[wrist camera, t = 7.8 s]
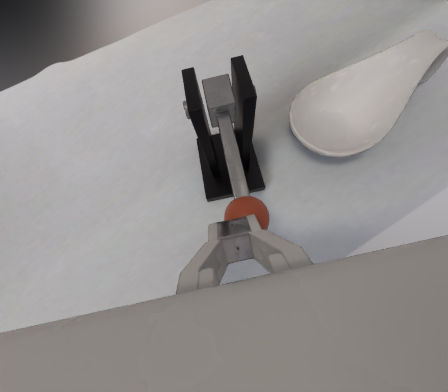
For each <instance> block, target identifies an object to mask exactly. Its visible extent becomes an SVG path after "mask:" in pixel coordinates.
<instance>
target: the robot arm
mask: <svg viewBox="0 0 448 392" xmlns="http://www.w3.org/2000/svg"><path fill="white" fill-rule="evenodd" d="M253 258H254V259H255V260H256V261H257V262H258V263H260V264H261V265H262V266H263V267H264V268H265V269H266V270H268V271H269V272H270V274H268V275H263V276H259V277H254V278H249V279H245V280H240V281H236V282H231V283H227V284H222V285H219V284H220V282H221V279H222V277H223V275H224V273H225V271H226V268H227V266H228V264H230V263H234V262H238V261H242V260H247V259H253ZM0 392H448V235H446V236H441V237H437V238H432V239H428V240H423V241H418V242H414V243H410V244H405V245H400V246H396V247H391V248H386V249H382V250H377V251H373V252H369V253H364V254H359V255H355V256H350V257H346V258H341V259H337V260H332V261H328V262H323V263H318V264H313V262H312V261H311V260H310V258H309V257H308V255H307V254H306V253H305V251H304V250H303V249H302V247H300V246H298V245H296V244H294V243H292V242H290V241H288V240H286V239H284V238H282V237H280V236H277V235H275V234H273V233H271V232H269V231H267V230H265V229H263V230H262V229H261V227H260V225H259V223H258V221H257V218H256V216H255V215H254V214H252V215H248V216H245V217H241V218H237V219H232V220H227V221H222V222H217V223H213V224H209V226H208V242H206V243H205V244H204V245H203V246H202V248H201V249H200V250H199V251H198V252H197V254H196V255H195V256H194V257H193V258H192V260H191V261H190V262H189V263H188V264H187V266H186V267H185V268H184V269H183V271H182V272H181V273H180V276H179V281H178V285H177V290H176V295H172V296H168V297H163V298H158V299H154V300H149V301H145V302H140V303H136V304H131V305H126V306H122V307H117V308H113V309H108V310H104V311H99V312H94V313H90V314H85V315H81V316H76V317H71V318H67V319H62V320H58V321H53V322H49V323H44V324H39V325H35V326H30V327H26V328H21V329H16V330H12V331H7V332H3V333H0Z"/></svg>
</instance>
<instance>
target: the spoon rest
mask: <svg viewBox="0 0 448 392" xmlns="http://www.w3.org/2000/svg"><path fill="white" fill-rule="evenodd" d="M447 56H448V40H444V39H441V38H439V37H438V36H437V35H436V34H435V32H434V31H433V30H425V31H422V32H420V33H418V34H416V35H414V36H411V37H410V38H408V39H406V40H404V41H402V42H400V43H398V44H396V45H394V46H392V47H390V48H388V49H386V50H384V51H382V52H380V53H378V54H375V55H373V56H371V57H369V58H366V59H364V60H362V61H359V62H357V63H354V64H352V65H350V66H347V67H345V68H342V69H340V70H338V71H335V72H333V73H331V74H329V75H327V76H324V77H323V78H320V79H318V80H316V81H314V82H313V83H311V84H309V85H308V86H306V87H305V88H304V89H302V90H301V91H300V92H299V93H298V94H297V96H296V97H295V98H294V100H293V102H292V104H291V106H290V110H289V124H290V127H291V130H292V132H293V133H294V135H295V136H296V138H297V139H298V140H299V141H300V142H301V143H302V144H303V145H304V146H305V147H306V148H308V149H310V150H311V151H313V152H315V153H318V154H321V155H324V156H330V157H345V156H351V155H355V154H358V153H361V152H363V151H366V150H368V149H369V148H371V147H373V146H374V145H376V144H377V143H378V142H379V141H380V140H382V139H383V138H384V136H385V135H386V134H387V133H388V132H389V131H390V130H391V128H392V127H393V126H394V124H395V122H396V121H397V119H398V118H399V116H400V114H401V113H402V111H403V109H404V108H405V106H406V104H407V102H408V101H409V99H410V97H411V95H412V94H413V92H414V90H415V88H416V87H417V85H418V84H419V83H423V82H425V81H427V80H428V79H429V78H430V77H431V76H432V75H433V74H434V73H435V72H436V70H437V69H438V68H439V67H440V66H441V64H442V63H443V62H444V61H445V59H446V58H447Z"/></svg>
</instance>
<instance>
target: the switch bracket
mask: <svg viewBox="0 0 448 392" xmlns="http://www.w3.org/2000/svg"><path fill="white" fill-rule="evenodd" d="M231 74H232V90H233V94H234V98H235V102H236V122H235V123H234V133H235V137H236V141H237V145H238V150H239V154H240V158H241V162H242V166H243V170H244V174H245V178H246V183H247V187H248V191H249V193H251V192H256V191H261V190H264V188H265V185H264V182H263V178H262V175H261V171H260V168H259V165H258V161H257V158H256V154H255V151H254V148H253V144H252V137H253V128H254V118H255V109H256V100H257V95H256V89H255V86H254V85H253V83H252V80H251V77H250V74H249V72H248V69H247V66H246V63H245V60H244V57H243V55H242V56H237V57H233V58H231ZM182 76H183V83H184V89H185V96H186V101H183V106H184V110H185V113H186V116H187V118H188V119H191V121H192V124H193V126H194V129H195V131H196V134H197V137H198V138H197V145H198V151H199V157H200V164H201V170H202V176H203V182H204V188H205V194H206V199H207V201H208V202H209V201H214V200H219V199H223V198H228V197H233V196H234V195H233V191H232V186H231V182H230V177H229V173H228V168H227V164H226V159H225V154H224V150H223V145H222V141H221V136H220V133H219V134H215V135H211V132H210V128H209V124H208V120H207V117H206V113H205V109H204V105H203V101H202V97H201V94H200V90H199V86H198V82H197V78H196V74H195V71H194V67H192V68H188V69H184V70H182Z"/></svg>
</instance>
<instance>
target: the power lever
mask: <svg viewBox="0 0 448 392" xmlns="http://www.w3.org/2000/svg"><path fill="white" fill-rule="evenodd" d="M202 84H203V89H204V94H205V99H206V103H207V108H208V112H209V117H210V121H211V125H212V128H214V127H219V132H220V136H221V141H222V145H223V150H224V154H225V159H226V164H227V168H228V173H229V177H230V182H231V186H232V191H233V195H234V200H233V201H232V202H231V203H230V204H229V205H228V206H227V208H226V211H225V215H224V221H227V220H232V219H237V218H241V217H245V216H248V215H252V214H254V215H255V216H256V218H257V221H258V223H259V225H260V227H261V229H262V230H263V229H265V230H267V228H268V226H269V220H270V218H269V212H268V209H267V207H266V206H265V205H264V203H263V202H262V201H260V200H259V199H257V198H255V197H252V196H250V195H249V191H248V187H247V183H246V178H245V174H244V170H243V166H242V162H241V158H240V154H239V150H238V145H237V141H236V137H235V133H234V129H233V125H232V123H235V122H236V102H235V98H234V94H233V90H232V86H231V82H230V78H229V75H228V74H225V75H221V76H216V77H212V78H208V79H204V80H202Z"/></svg>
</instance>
